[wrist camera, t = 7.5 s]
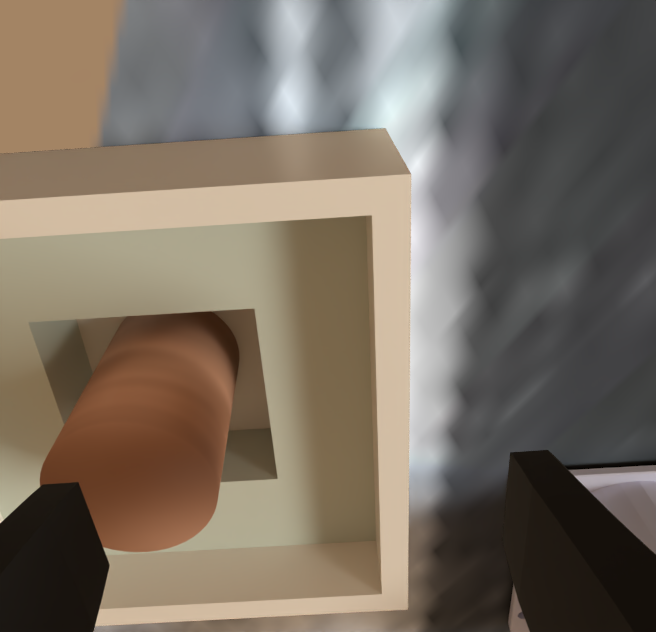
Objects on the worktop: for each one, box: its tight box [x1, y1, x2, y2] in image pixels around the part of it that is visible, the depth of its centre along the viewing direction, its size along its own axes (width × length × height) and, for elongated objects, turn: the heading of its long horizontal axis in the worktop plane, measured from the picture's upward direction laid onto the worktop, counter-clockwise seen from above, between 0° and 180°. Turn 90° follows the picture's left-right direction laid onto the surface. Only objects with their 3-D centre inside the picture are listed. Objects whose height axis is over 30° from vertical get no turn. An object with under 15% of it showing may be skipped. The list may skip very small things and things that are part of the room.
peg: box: [40, 311, 240, 552], centre depth 16 cm, size 4×4×6 cm
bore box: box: [0, 128, 411, 626], centre depth 17 cm, size 14×14×5 cm
